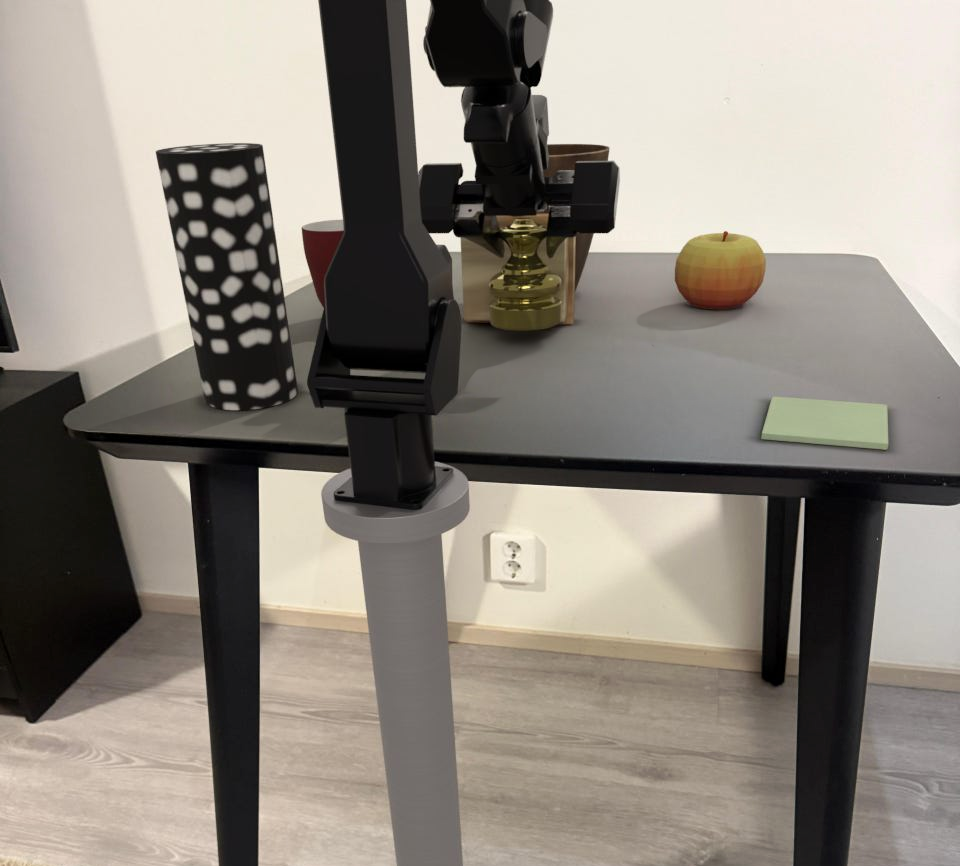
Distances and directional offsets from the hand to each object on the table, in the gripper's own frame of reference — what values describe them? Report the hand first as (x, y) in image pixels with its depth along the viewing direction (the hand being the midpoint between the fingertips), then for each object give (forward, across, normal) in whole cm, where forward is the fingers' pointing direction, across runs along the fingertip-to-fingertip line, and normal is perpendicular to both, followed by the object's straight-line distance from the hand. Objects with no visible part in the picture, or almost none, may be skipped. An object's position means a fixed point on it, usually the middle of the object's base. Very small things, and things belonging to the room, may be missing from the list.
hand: (526, 253), depth 93 cm
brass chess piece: (+4, 0, +6) cm, 7 cm away
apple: (+16, -20, -5) cm, 26 cm away
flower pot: (+19, +1, -8) cm, 20 cm away
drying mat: (-11, -28, +23) cm, 38 cm away
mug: (+10, +21, +2) cm, 23 cm away
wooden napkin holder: (+9, +2, +3) cm, 9 cm away
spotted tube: (-9, +22, +22) cm, 32 cm away
